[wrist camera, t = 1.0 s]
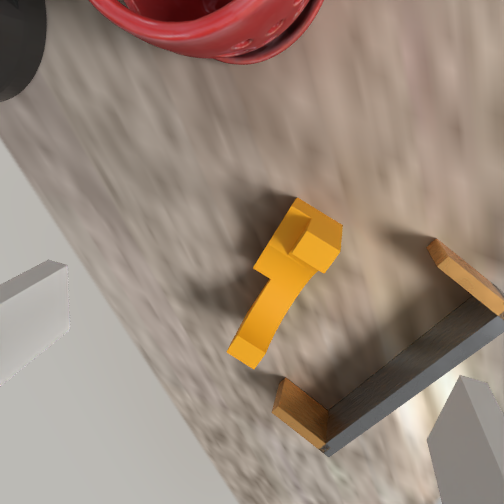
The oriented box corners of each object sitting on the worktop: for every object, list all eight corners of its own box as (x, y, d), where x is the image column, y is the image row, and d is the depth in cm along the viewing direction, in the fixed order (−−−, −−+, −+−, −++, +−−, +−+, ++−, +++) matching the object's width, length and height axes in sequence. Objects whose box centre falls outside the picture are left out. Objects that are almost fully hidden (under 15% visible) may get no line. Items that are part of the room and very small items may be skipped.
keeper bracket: (279, 382, 37) (271, 412, 33) (436, 238, 28) (448, 256, 25) (331, 423, 37) (328, 457, 33) (502, 291, 28) (524, 317, 25)
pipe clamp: (297, 196, 30) (284, 216, 24) (342, 224, 30) (340, 251, 24) (231, 302, 35) (207, 340, 29) (270, 326, 35) (254, 369, 29)
